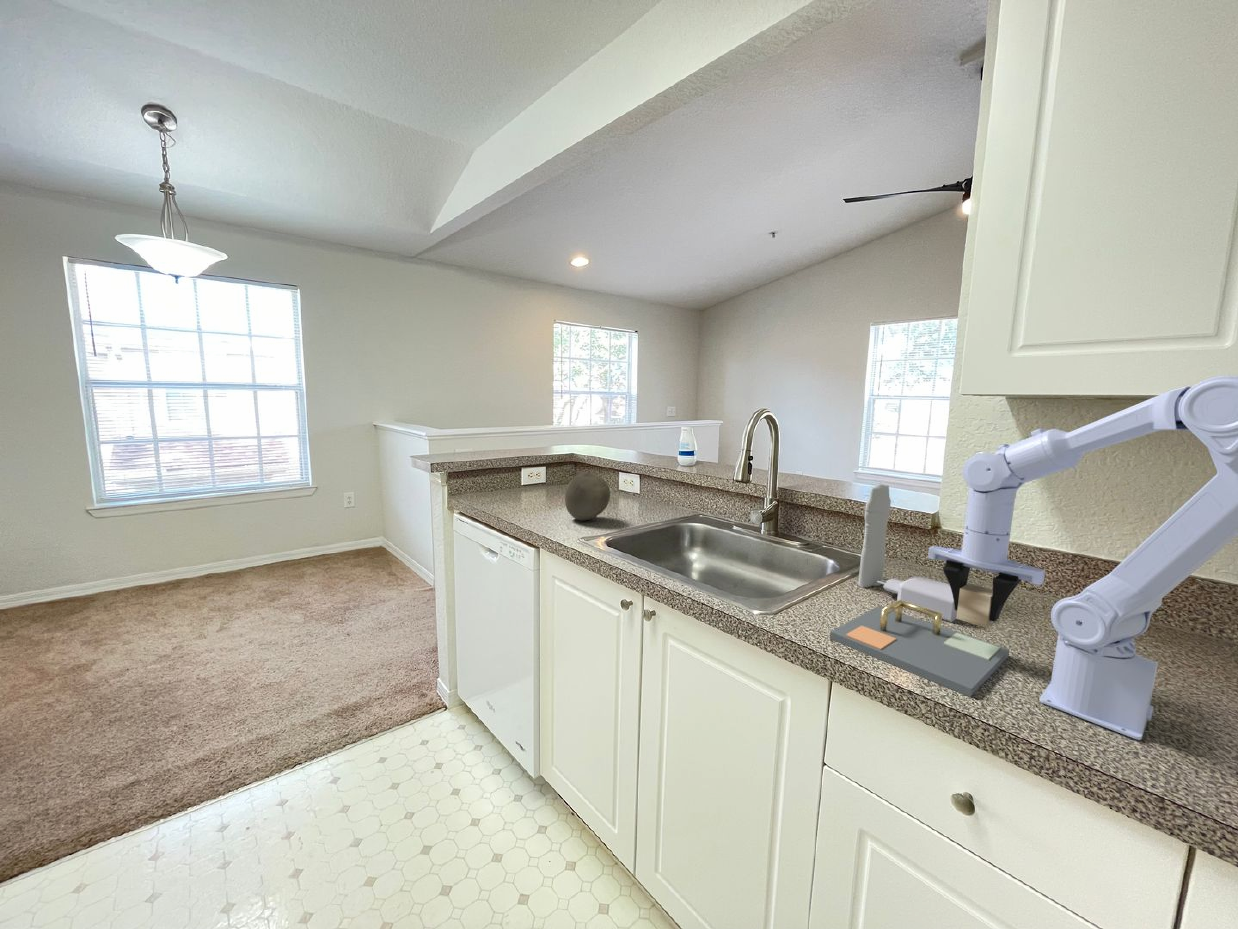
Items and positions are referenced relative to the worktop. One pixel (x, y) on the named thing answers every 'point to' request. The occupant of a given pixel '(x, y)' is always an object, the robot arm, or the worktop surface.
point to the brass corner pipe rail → (899, 609)
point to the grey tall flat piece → (874, 537)
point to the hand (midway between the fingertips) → (976, 614)
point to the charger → (924, 594)
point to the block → (975, 605)
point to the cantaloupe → (586, 496)
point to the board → (924, 649)
